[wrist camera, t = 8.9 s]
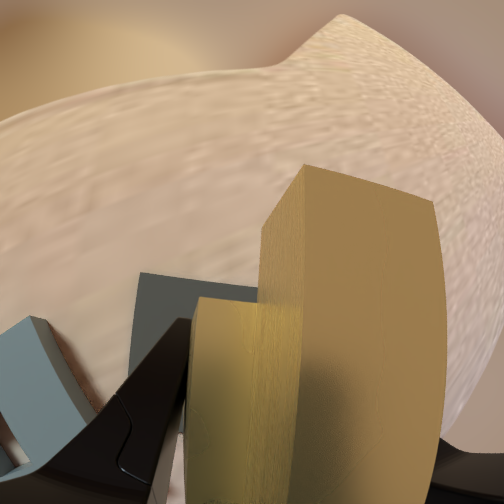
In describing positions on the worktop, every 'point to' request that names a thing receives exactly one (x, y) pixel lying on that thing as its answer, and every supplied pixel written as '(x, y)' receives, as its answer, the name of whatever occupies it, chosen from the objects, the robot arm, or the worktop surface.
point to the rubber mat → (172, 308)
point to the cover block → (38, 396)
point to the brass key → (324, 356)
